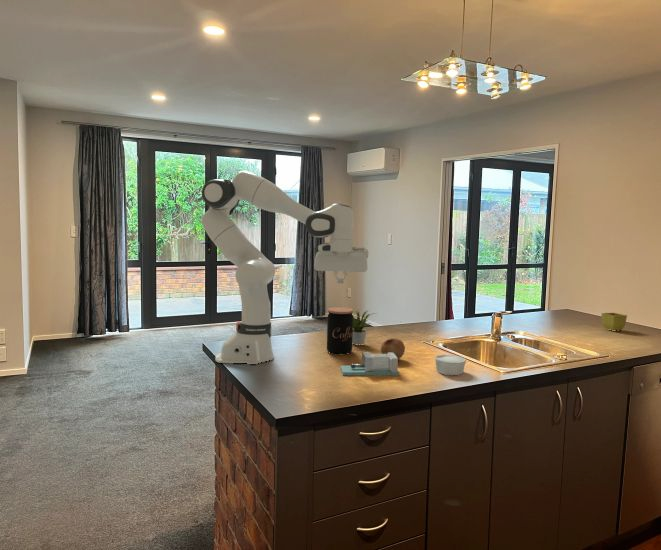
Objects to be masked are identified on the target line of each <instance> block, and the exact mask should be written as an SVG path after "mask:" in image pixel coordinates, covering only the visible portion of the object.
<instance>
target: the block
mask: <svg viewBox="0 0 661 550" xmlns="http://www.w3.org/2000/svg"><path fill="white" fill-rule="evenodd" d="M371 354H372V356H373V357H374V370H389V365H390V356H389V355H388V354H382V353H371Z"/></svg>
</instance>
